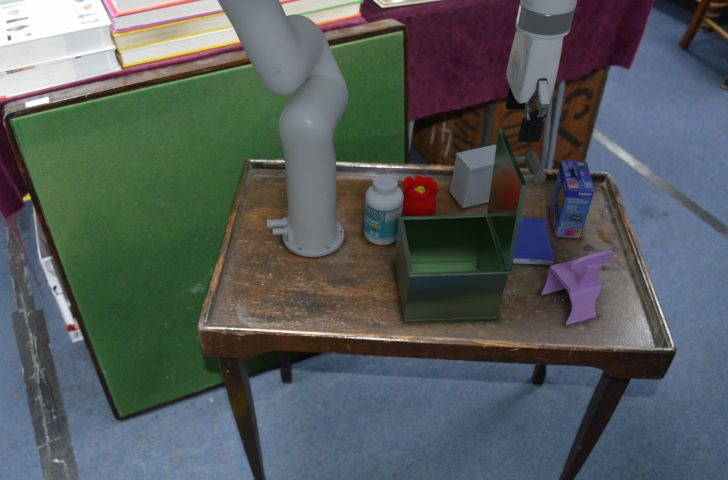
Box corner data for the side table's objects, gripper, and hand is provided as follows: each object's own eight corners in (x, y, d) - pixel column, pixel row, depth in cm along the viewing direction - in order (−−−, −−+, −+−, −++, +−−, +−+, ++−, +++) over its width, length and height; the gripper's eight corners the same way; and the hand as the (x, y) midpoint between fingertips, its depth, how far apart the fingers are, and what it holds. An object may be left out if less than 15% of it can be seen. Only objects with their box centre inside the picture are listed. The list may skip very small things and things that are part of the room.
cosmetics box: (463, 209, 141) (470, 168, 133) (449, 192, 145) (455, 152, 137) (506, 199, 143) (515, 158, 136) (491, 182, 147) (499, 141, 140)
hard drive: (505, 216, 136) (512, 257, 128) (545, 218, 136) (555, 259, 127) (503, 222, 137) (510, 263, 129) (544, 224, 137) (553, 265, 128)
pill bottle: (357, 229, 136) (358, 176, 127) (388, 219, 139) (391, 165, 129) (375, 251, 131) (378, 197, 122) (407, 240, 134) (412, 185, 124)
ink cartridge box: (546, 207, 141) (562, 149, 131) (573, 208, 140) (591, 150, 130) (553, 237, 134) (570, 178, 124) (581, 239, 133) (601, 180, 123)
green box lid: (521, 185, 97) (557, 183, 97) (498, 128, 108) (530, 126, 108) (506, 270, 110) (538, 268, 109) (487, 211, 121) (516, 209, 120)
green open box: (404, 323, 118) (409, 276, 110) (394, 263, 129) (398, 216, 121) (496, 320, 118) (508, 272, 110) (479, 260, 129) (489, 213, 121)
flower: (391, 218, 139) (393, 187, 133) (409, 199, 143) (412, 168, 138) (424, 231, 136) (428, 200, 130) (442, 212, 140) (446, 181, 134)
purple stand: (573, 282, 125) (594, 221, 114) (601, 315, 119) (627, 253, 108) (534, 293, 123) (553, 231, 112) (561, 326, 117) (583, 265, 106)
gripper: (505, -7, 99) (488, 97, 111) (531, 45, 87) (508, 155, 99) (555, -7, 99) (532, 96, 111) (589, 44, 87) (559, 154, 99)
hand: (521, 124), depth 105 cm, fingers open, 9 cm apart
